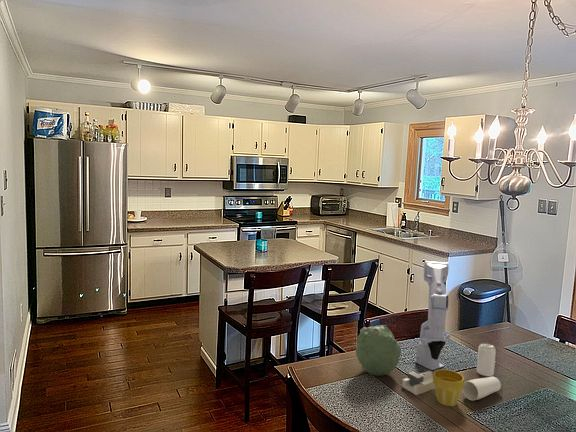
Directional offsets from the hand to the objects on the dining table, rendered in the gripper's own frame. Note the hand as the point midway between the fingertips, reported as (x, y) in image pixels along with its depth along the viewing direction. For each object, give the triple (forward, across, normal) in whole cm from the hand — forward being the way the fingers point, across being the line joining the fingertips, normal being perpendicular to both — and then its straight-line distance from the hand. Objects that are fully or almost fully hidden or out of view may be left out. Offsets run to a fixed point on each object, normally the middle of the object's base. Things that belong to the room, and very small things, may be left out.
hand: (434, 358), depth 171 cm
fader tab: (+8, -11, -1) cm, 14 cm away
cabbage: (+10, -15, +15) cm, 23 cm away
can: (+10, +25, -6) cm, 27 cm away
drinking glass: (+7, +16, -16) cm, 23 cm away
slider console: (+9, -6, -1) cm, 11 cm away
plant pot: (+9, -8, -12) cm, 17 cm away
